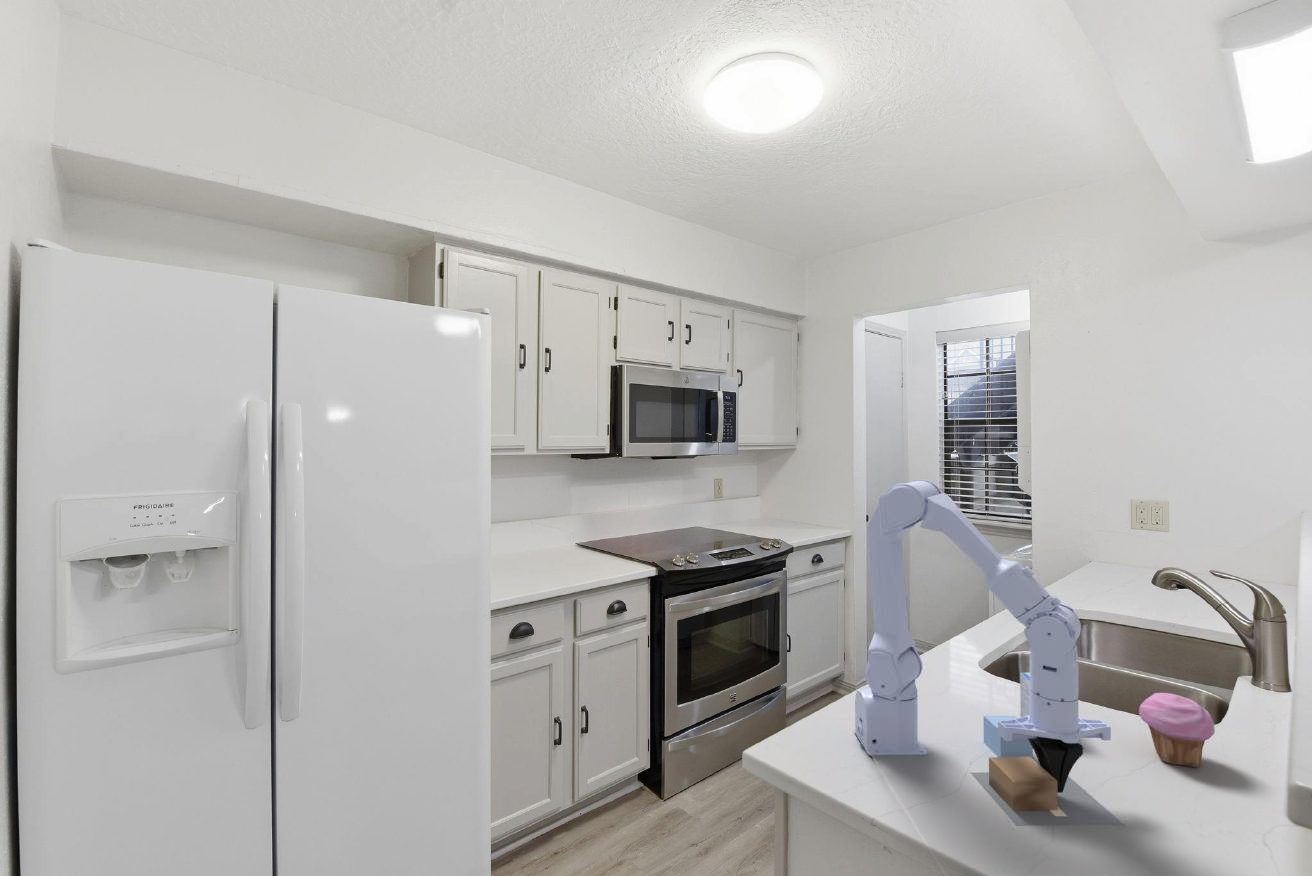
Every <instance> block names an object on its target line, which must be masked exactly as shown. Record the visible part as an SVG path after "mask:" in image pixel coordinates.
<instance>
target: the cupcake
mask: <svg viewBox="0 0 1312 876" xmlns="http://www.w3.org/2000/svg"><path fill="white" fill-rule="evenodd" d="M1138 709H1139V710H1138V713H1139V714H1138V715H1139V717H1140V719H1141V720H1142V721H1143V722H1145V724H1147V726H1148V728H1149V731H1150V735H1151V739H1152V743H1153V746H1154V749H1155V751H1156V754H1157V756H1158V757H1159V759H1160V760H1162V762H1165V763H1167V764H1175V765H1181V766H1186V767H1190V768H1191V767H1192V768H1199V767H1201V764H1202V757H1203V749H1204V748H1203V747H1204V745H1205V742H1206V741H1207V740H1209V739H1210V738H1212V736H1213V735H1214V734H1215V723H1214V719H1213V717H1212V715H1211V714H1210V712H1209V710H1207V709H1205V708H1204V707H1202V705H1200V704H1198V702H1197V701H1194V700H1192V699H1190V698H1188V697H1185V696H1182V695H1178V694H1174V693H1170V692H1155V693H1153V694H1152V695H1150V696H1149V697H1147V698H1145V700H1144V701H1143V702H1142V703H1141V704H1140V706H1139V708H1138Z"/></svg>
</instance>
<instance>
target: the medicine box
mask: <svg viewBox="0 0 1312 876" xmlns="http://www.w3.org/2000/svg"><path fill="white" fill-rule="evenodd" d="M1019 680H1020V681H1019V682H1020V683H1019V685H1020V686H1019V687H1020V717H1024V716H1028V715H1030V671H1029V672H1027V671H1025V672H1020V677H1019Z"/></svg>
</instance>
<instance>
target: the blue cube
mask: <svg viewBox="0 0 1312 876" xmlns="http://www.w3.org/2000/svg"><path fill="white" fill-rule="evenodd" d="M1016 718H1017V717H1016V716H1015V715H983V743H984V744H985V746H986V747H988V749H989V750H990V751H991V752H992V753H993V754H994V755H995V756H996V757H1031V758H1032V759H1033V758H1034V749H1033V747H1032V746H1031V744H1030V742H1029V740H1028V738H1018V739H1013V741H1005V740H1004V739H1003V738H1002V737H1001V736H1000V735H999V734H998V721H1005V720H1011V719H1016ZM1033 760H1034V759H1033Z"/></svg>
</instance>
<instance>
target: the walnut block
mask: <svg viewBox="0 0 1312 876" xmlns="http://www.w3.org/2000/svg"><path fill="white" fill-rule="evenodd" d="M988 772H989V785H990V786H991V787H992V788H993V789H994V790H995V791H996V792H997V794H998V795H999V796H1000V797H1001V798H1002V799H1003V800H1004V801H1005V802H1006V803H1007V804H1008V806H1009V807H1010V808H1011V809H1012V810H1013V811H1032V810H1058V791H1057V780H1056V779H1055V778H1054V777H1052V776H1051V775H1050V774H1049V773H1048V772H1047V771H1046V770H1045V769H1043V768H1042V767H1041V766H1040V764H1039V762H1037V761H1036V760H1035V759H1032V758H1031V757H998V756H995V757H994V756H991V757H988Z"/></svg>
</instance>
